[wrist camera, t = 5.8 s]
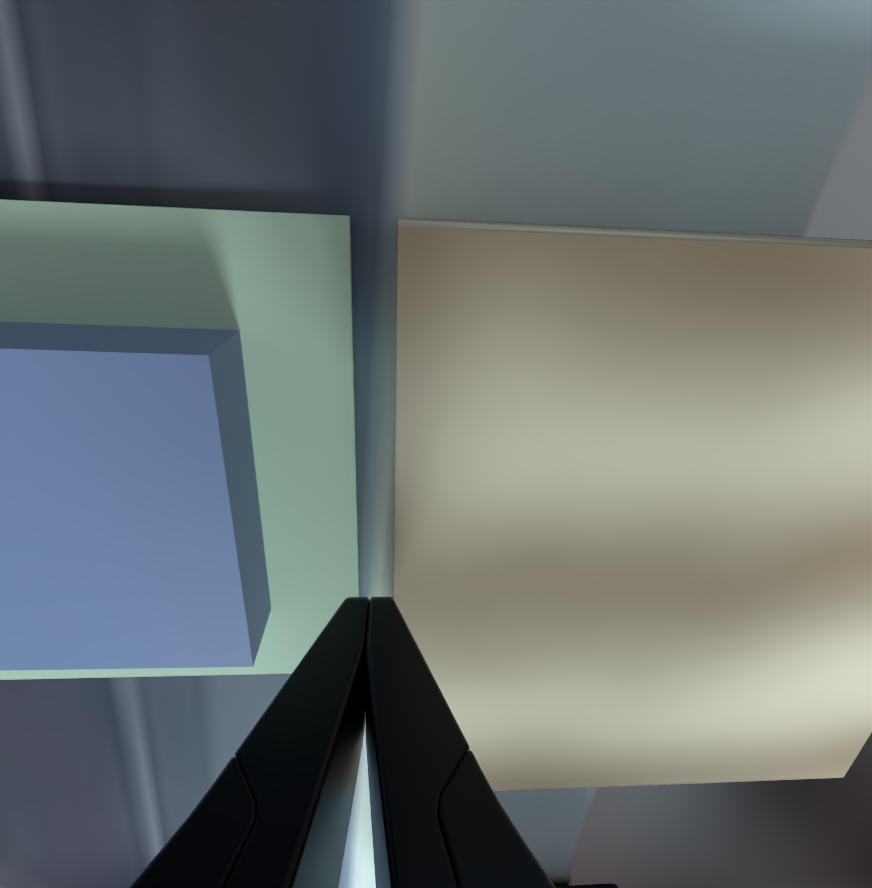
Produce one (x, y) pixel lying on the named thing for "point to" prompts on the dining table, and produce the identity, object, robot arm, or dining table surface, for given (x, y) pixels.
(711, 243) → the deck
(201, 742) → the dining table surface
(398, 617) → the robot arm
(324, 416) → the mat
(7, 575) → the periwinkle blue block
